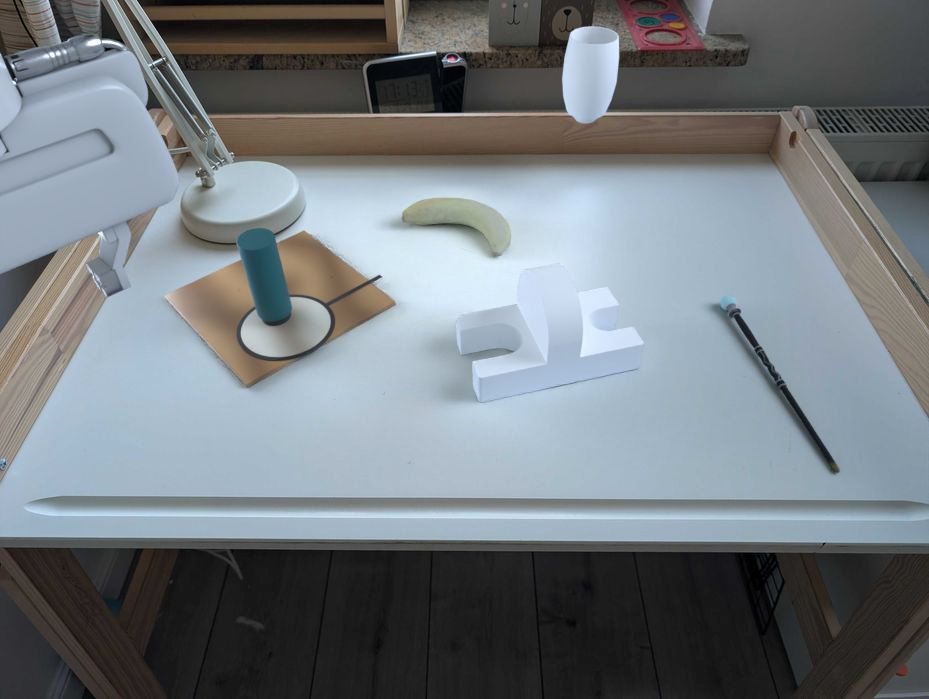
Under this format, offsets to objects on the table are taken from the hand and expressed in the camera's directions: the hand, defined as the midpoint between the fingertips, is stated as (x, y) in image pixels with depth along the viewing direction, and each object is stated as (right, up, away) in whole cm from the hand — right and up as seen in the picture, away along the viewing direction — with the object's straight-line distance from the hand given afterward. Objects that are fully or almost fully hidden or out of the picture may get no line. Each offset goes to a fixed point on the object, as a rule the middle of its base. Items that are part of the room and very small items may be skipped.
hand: (34, 325), depth 40 cm
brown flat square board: (+2, +4, +46) cm, 46 cm away
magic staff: (+57, -5, +36) cm, 68 cm away
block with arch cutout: (+33, -2, +39) cm, 51 cm away
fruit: (+23, +14, +56) cm, 62 cm away
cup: (+41, +23, +65) cm, 80 cm away
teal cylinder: (+2, +3, +43) cm, 43 cm away
